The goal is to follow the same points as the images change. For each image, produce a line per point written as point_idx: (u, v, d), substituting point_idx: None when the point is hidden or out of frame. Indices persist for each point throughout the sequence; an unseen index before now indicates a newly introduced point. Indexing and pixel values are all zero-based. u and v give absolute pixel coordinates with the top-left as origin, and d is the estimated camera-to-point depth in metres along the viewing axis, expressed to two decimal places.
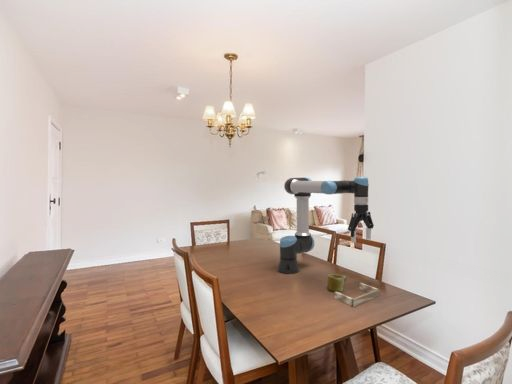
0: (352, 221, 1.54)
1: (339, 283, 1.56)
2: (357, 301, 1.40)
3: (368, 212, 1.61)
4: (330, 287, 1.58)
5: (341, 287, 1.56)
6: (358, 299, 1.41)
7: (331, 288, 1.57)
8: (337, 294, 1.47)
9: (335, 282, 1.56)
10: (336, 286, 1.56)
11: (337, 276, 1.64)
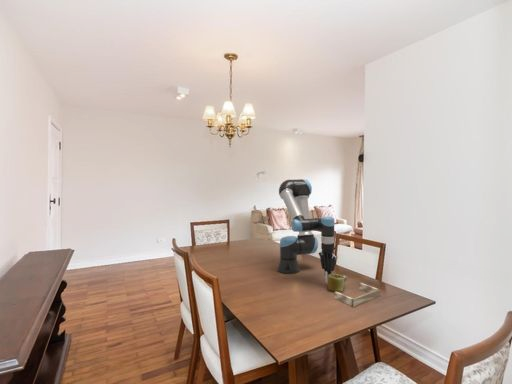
0: None
1: (339, 283, 1.56)
2: (357, 301, 1.40)
3: (334, 256, 1.61)
4: (330, 287, 1.58)
5: (341, 287, 1.56)
6: (358, 299, 1.41)
7: (331, 288, 1.57)
8: (337, 294, 1.47)
9: (335, 282, 1.56)
10: (336, 286, 1.56)
11: (337, 276, 1.63)
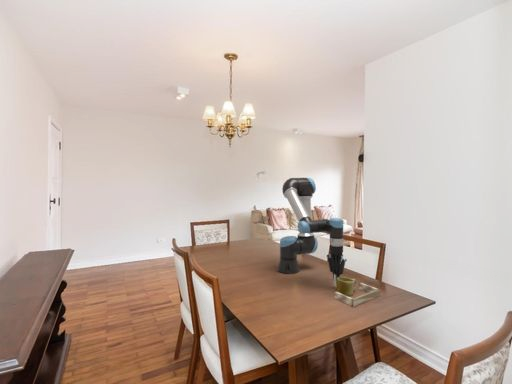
0: None
1: (349, 287, 1.50)
2: (357, 301, 1.40)
3: (343, 259, 1.56)
4: (339, 291, 1.52)
5: (351, 291, 1.51)
6: (358, 299, 1.41)
7: (340, 292, 1.52)
8: (337, 294, 1.47)
9: (345, 286, 1.50)
10: (346, 290, 1.50)
11: (346, 279, 1.58)
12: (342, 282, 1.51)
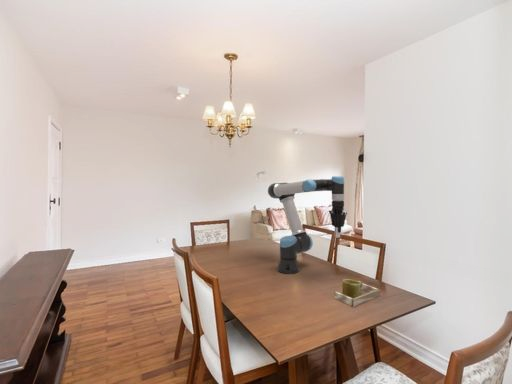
0: None
1: (355, 289, 1.47)
2: (357, 301, 1.40)
3: (344, 212, 1.71)
4: (346, 293, 1.49)
5: (357, 293, 1.48)
6: (358, 299, 1.41)
7: (347, 295, 1.48)
8: (337, 294, 1.47)
9: (351, 288, 1.47)
10: (352, 292, 1.47)
11: (352, 281, 1.55)
12: (348, 284, 1.48)
